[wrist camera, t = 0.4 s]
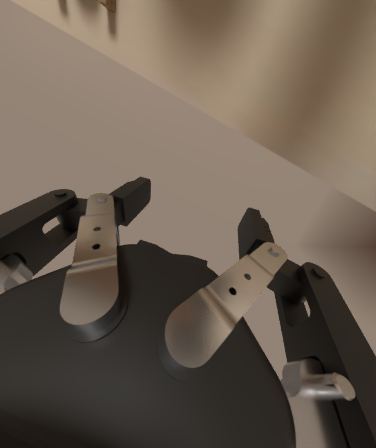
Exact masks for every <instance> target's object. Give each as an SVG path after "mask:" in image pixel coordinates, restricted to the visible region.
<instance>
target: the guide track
mask: <svg viewBox="0 0 376 448" xmlns="http://www.w3.org/2000/svg"><path fill="white" fill-rule="evenodd" d="M98 1H99V2H100V3H101V4H102V5H103V6H105V7H106V8H107V9H109V10H111V11H114V12H115V0H98Z"/></svg>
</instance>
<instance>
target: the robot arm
mask: <svg viewBox="0 0 376 448" xmlns="http://www.w3.org/2000/svg"><path fill="white" fill-rule="evenodd" d="M150 188H151V181H150V179H147V178H143V177H139V178H137V179H136V180H134V181H131V182H127V183H126V184H124V185H123V186H121V187H119V188H118V189H116V190H115V191H113V192H112V193H110V194H105V193H99V194H94V195H92V196H90V197H89V198H88V199H82V198H77V197H76V194H75V192H74V191H72V190H68V189H59V190H54V191H51V192H49V193H47V194H44V195H42V196H40V197H38V198H36V199H34V200H31V201H29V202H27V203H25V204H23V205H21V206H18V207H16V208H14V209H12V210H10V211H8V212H6V213H3V214H1V215H0V448H376V356H375V354H374V353H373V351H372V349H371V348H370V346H369V344H368V342H367V340H366V338H365V337H364V335H363V333H362V331H361V329H360V328H359V326H358V324H357V322H356V321H355V319H354V317H353V315H352V313H351V312H350V310H349V308H348V306H347V305H346V303H345V301H344V299H343V297H342V296H341V294H340V292H339V290H338V289H337V287H336V285H335V283H334V282H333V280H332V278H331V277H330V275H329V274H328V273H327V272H326V271H325V270H324V269H322V268H321V267H319V266H318V265H316V264H313V263H310V262H306V263H304V264H303V265H302V266H299V265H298V264H295V263H294V262H292V261H290V260H288V259H287V254H286V252H285V251H284V250H283V249H282V248H281V247H280V246H278V245H276V244H275V243H274V239H273V236H272V234H271V231H270V229H269V225H268V223H267V222H266V221H265V219H264V218H261V215H260V212H259V210H256V209H252V208H248V209H247V210H246V212H245V214H244V216H243V218H242V220H241V222H240V223H239V226H238V243H239V261H238V262H236V263H235V264H234V265H233V266H231V267H230V268H229V269H228V270H226V271H225V272H224V273H223V274H221V275H220V276H218V275H217V274H216V273H215V272H214V271H213V270H211V269H210V268H208V267H207V261H206V260H202V259H199V258H196V257H193V256H189V255H178V254H171V253H169V252H168V251H166V250H164V249H163V248H160V247H159V246H157V245H155V244H152V243H149V242H146V241H143V240H140V241H139V242H138V243H137V244H129V245H122V246H120V237H119V228H118V226H119V225H123V226H128V225H129V223H130V222H131V221H132V220H133V219H134V218H135V217H136V216H137V215H138V214H139V213H140V212H141V211H142V210H143V209H144V207H145V206H146V205H147V204H148V203H149V201H150V196H151V194H150V193H151V189H150ZM55 217H57V219H58V221H59V223H60V224H59V225H57V226H56V227H54V228H53V229H51V230H50V231H48V232H47V233H46V234H44V233H43V231H42V228H43V226H44V224H45V223H47V222H48V221H50V220H51V219H53V218H55ZM76 238H77V240H76V245H75V251H74V256H73V262H72V264H71V265H69V266H66V267H64V268H61V269H58V270H56V271H53V272H50V273H48V274H46V275H43V276H40V277H38V278H35V279H33V280H31V279H32V277H33V276H34V275H35V274H36V273H37V272H39V271H40V270H41V269H42V268H43V267H44V266H45V265H47V264H48V263H49V262H50V261H51V260H52V259H53V258H55V257H56V256H57V255H58V254H59V253H60V252H62V251H63V250H64V249H65V248H66V247H67V246H68V245H69V244H71V243H72V242H73V241H74V240H75V239H76ZM266 287H267V288H269V289H270V290H272V291H274V293H275V299H276V304H277V309H278V315H279V320H280V325H281V331H282V336H283V341H284V346H285V352H286V357H287V364H286V365H285V366H284V368H283V371H282V379H281V381H280V380H279V378H278V376H277V374H276V372H275V371H274V369H273V367H272V365H271V364H270V362H269V360H268V359H267V357H266V355H265V353H264V352H263V350H262V348H261V347H260V345H259V343H258V341H257V340H256V338H255V336H254V334H253V333H252V331H251V329H250V328H249V326H248V324H247V322H246V321H245V319H244V317H243V315H244V314H245V312H246V311H247V310H248V309H249V307H250V306H251V305H252V304H253V302H254V301H255V300H256V299H257V298H258V296H259V295H260V294H261V293H262V291H263V290H264V289H265V288H266ZM305 301H307V302H308V305H309V308H310V317H308V314H307V311H306V308H305V305H304V302H305Z"/></svg>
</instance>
